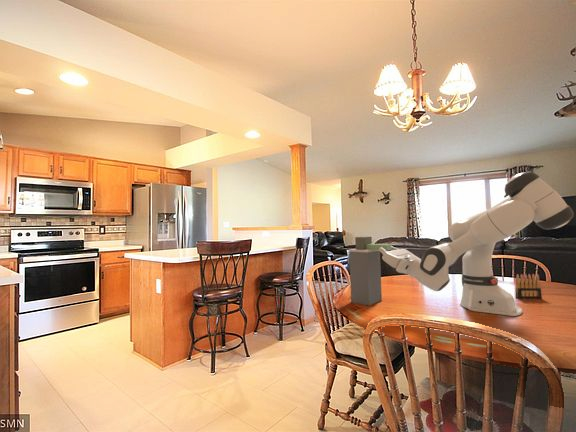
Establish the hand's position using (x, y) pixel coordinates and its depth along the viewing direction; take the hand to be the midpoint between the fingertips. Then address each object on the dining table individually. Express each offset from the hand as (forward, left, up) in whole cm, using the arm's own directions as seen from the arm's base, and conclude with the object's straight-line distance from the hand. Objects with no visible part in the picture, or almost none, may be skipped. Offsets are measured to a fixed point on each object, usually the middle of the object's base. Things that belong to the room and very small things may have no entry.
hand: (384, 247), depth 139 cm
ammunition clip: (-46, -55, -27) cm, 77 cm away
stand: (+11, 0, -27) cm, 29 cm away
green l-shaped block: (+6, 0, -1) cm, 6 cm away
